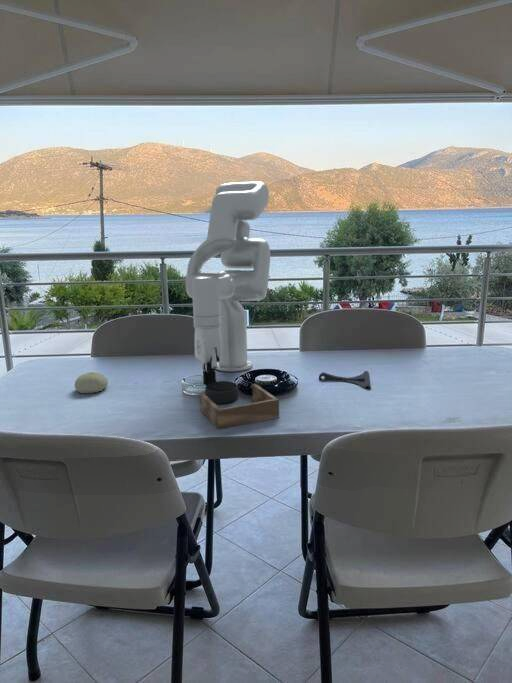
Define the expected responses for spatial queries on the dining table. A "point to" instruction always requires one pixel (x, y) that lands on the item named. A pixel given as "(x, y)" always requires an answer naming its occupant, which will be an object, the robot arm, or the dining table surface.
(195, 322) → the robot arm
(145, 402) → the dining table surface
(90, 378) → the sea urchin shell
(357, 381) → the bracket
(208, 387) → the smart speaker
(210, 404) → the box
